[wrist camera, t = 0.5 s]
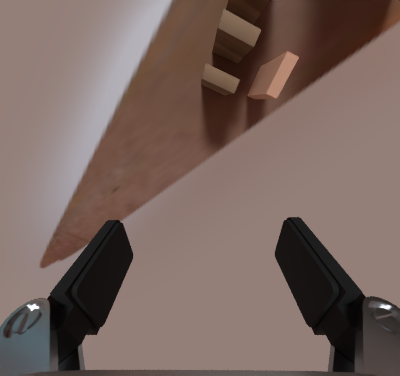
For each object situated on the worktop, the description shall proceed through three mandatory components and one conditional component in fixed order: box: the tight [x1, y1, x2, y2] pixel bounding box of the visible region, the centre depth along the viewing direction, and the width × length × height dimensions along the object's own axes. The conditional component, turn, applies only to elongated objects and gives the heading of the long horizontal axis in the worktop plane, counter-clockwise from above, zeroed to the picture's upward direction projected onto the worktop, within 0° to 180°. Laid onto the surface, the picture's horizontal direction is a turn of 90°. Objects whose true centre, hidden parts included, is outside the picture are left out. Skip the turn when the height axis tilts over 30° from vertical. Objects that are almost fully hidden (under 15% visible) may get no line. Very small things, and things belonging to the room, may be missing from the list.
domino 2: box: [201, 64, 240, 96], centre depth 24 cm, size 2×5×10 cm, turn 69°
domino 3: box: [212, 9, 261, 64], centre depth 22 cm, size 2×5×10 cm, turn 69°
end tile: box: [247, 51, 299, 99], centre depth 24 cm, size 2×5×10 cm, turn 159°
